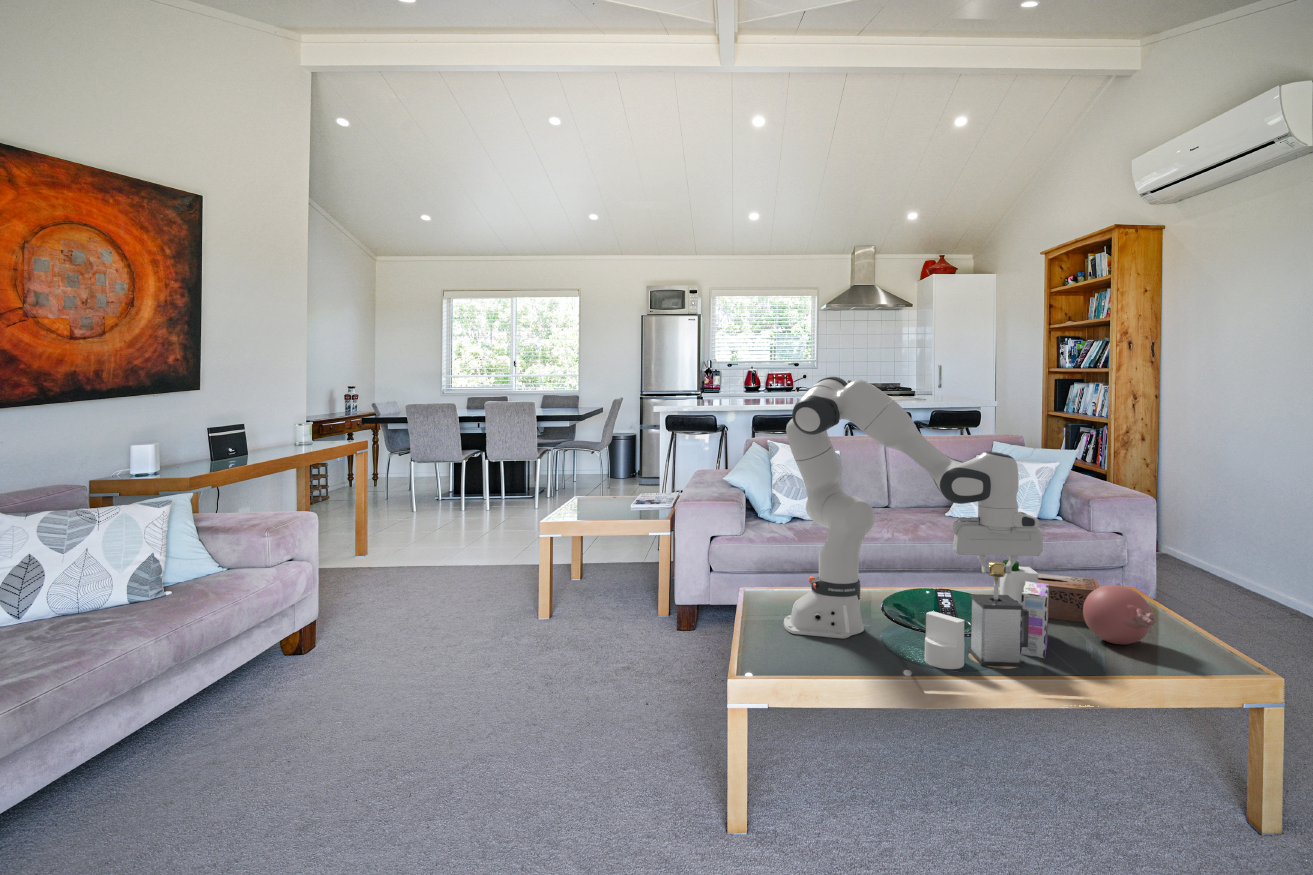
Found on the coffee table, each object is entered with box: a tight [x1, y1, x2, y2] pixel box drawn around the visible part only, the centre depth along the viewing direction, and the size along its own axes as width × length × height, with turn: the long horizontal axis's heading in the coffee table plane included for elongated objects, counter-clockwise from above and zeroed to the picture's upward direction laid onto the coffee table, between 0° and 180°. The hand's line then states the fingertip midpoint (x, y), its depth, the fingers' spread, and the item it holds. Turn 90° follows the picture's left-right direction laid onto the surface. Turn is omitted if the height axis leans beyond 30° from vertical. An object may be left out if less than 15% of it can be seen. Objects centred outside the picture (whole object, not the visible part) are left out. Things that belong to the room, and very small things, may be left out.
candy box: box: [1020, 581, 1049, 659], centre depth 178 cm, size 14×6×16 cm, turn 148°
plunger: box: [987, 561, 1005, 601], centre depth 170 cm, size 6×6×17 cm
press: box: [967, 593, 1029, 668], centre depth 170 cm, size 12×10×15 cm
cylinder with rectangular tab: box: [924, 610, 965, 670], centre depth 169 cm, size 9×9×12 cm
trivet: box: [968, 652, 1022, 670], centre depth 171 cm, size 12×12×1 cm
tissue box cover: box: [1037, 572, 1100, 623], centre depth 210 cm, size 26×14×10 cm, turn 62°
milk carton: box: [999, 559, 1039, 629], centre depth 191 cm, size 9×9×20 cm
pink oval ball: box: [1083, 584, 1157, 645], centre depth 180 cm, size 15×20×15 cm
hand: (996, 572), depth 170 cm, fingers closed on plunger, 4 cm apart
